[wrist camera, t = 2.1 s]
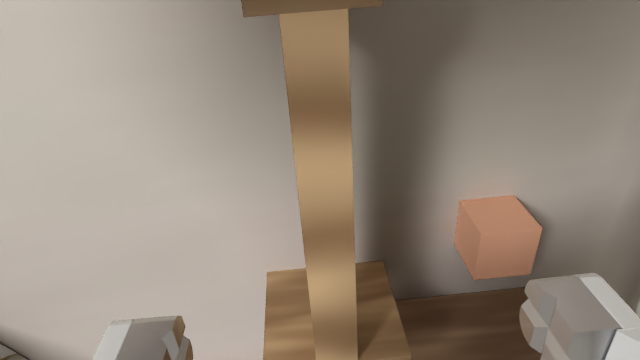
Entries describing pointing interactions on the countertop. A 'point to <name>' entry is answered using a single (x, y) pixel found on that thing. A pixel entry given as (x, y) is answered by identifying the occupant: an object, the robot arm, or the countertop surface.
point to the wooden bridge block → (325, 202)
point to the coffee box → (9, 354)
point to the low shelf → (466, 326)
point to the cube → (496, 237)
